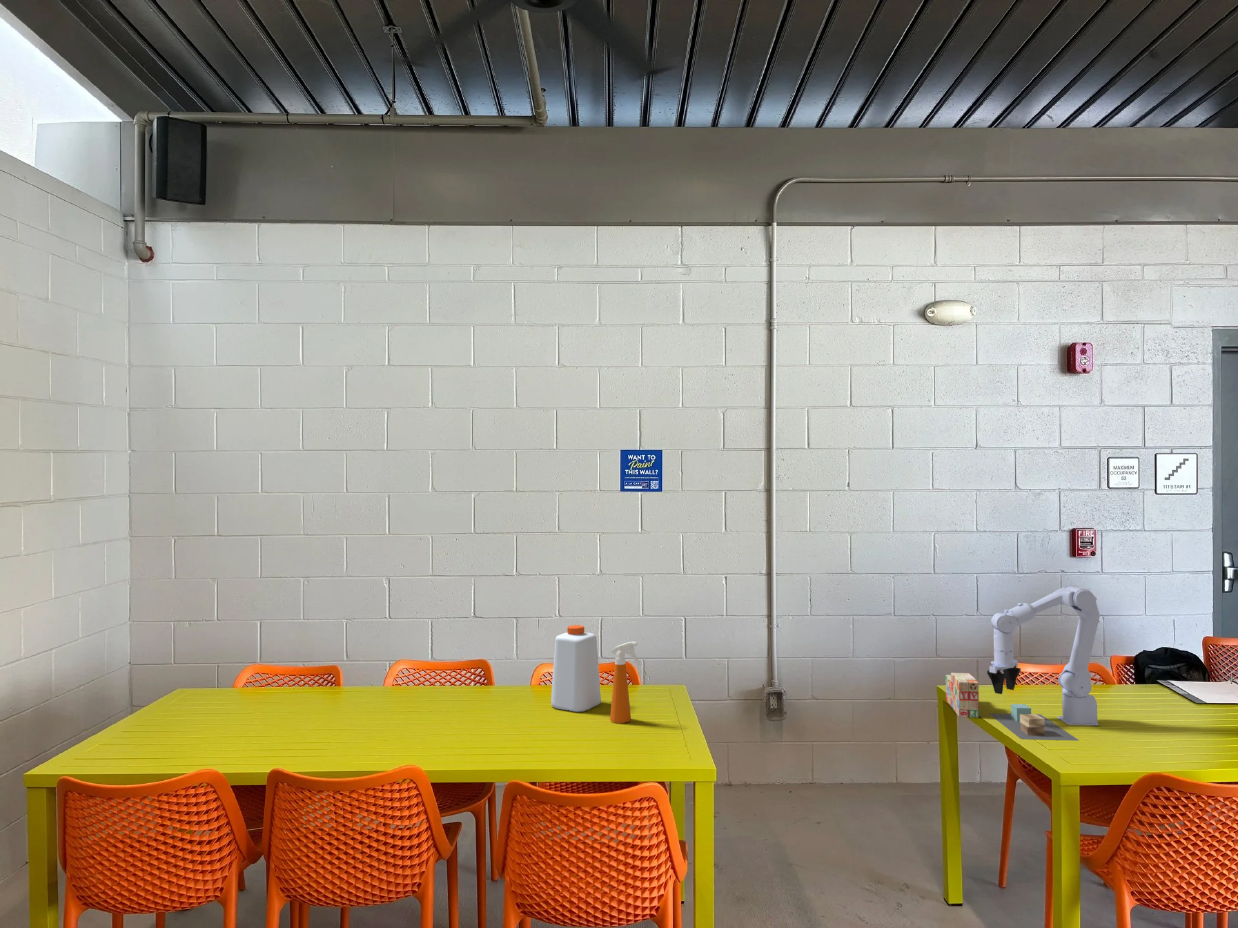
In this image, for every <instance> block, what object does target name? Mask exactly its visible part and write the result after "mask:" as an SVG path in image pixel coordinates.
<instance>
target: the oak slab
mask: <svg viewBox="0 0 1238 928" xmlns="http://www.w3.org/2000/svg"><path fill="white" fill-rule="evenodd" d="M1020 723H1022V724H1024V725H1026V726H1028V727H1045V719H1044V718H1042V717H1040V716H1038V715H1036V714H1035V713H1031V714H1020Z"/></svg>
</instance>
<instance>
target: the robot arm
mask: <svg viewBox="0 0 1238 928" xmlns="http://www.w3.org/2000/svg"><path fill="white" fill-rule="evenodd" d="M1097 600H1098V599H1097V597H1096V596H1095V595H1094V593H1093V592H1091V590H1090V589H1088V588H1087V589H1086V588H1082V587H1079V586H1075V585H1072V584H1071V585H1070V584H1069V585H1066V586H1064V587H1061V588H1058V589H1056V590H1055V591H1054V592H1051V593H1050V594H1047V595H1045V596H1044V597H1042V598H1040V599H1038V600H1036V601H1034V602H1032V603H1030V604H1029V603H1027V602H1024V603H1022V602H1019V603H1017V604H1016V605H1015V606H1014V607H1012V608H1010V609H1004V610H1003V612H997V613H995V614H994V615H993V616H992V617H991V620H989V622H990V626H991V627H992V628H993V658H994V659H993V660H992V661H990V664H991V665H989V667H988V668H989V669H988V670H986V675H987V676H988V678H989V679H990V681H991V683H992V687H993V688H992V689H993V691H994V693H995V694H998V695H1002V694H1003V692H1004V682H1005V688H1006V690H1010V691H1014V690H1015V687H1016V682H1017V679H1018V677H1019V675H1020V673H1021V668H1020V667H1019V661H1018V660H1015V659H1014V638H1013V637H1014V636H1013V632H1014V631H1015V630H1016V627H1019V626H1021V625H1023V624H1026V623H1028V622H1031V621H1032V620H1034V619H1035V618H1036V615H1037V614H1038V613H1040V612H1044V611H1046V610H1049V609H1052V608H1053V607H1057V606H1060V605H1062V606H1070V607H1071V608H1072V609H1073V610H1074V611H1075V612H1076V613H1077V615H1078V616H1079V617H1078V622H1077V627H1076V632H1075V635H1074V640H1073V643H1072V648H1071V654H1070V658H1069V661H1068V663H1066V664H1065V666H1064V668H1063V670H1062V672H1061V673H1060V674H1059V676H1058V681H1057V682H1058V684H1059V686H1060V687H1061V688H1062V690H1061V691H1062V692H1061V696H1062V697H1061V698H1062V699H1061V700H1062V702H1061V703H1062V704H1061V705H1062V715H1057V719H1059V720H1060V721H1062V722H1064V723H1066V724H1067V725H1068V726H1069V725H1070V726H1099V725H1100V724H1099V723H1098V702H1097V699H1096V697H1094V695H1092V694H1090V693H1091V691H1092V683H1091V678H1092V676H1091V673H1090V671H1089V664H1090V661H1091V660H1090V659H1091V656H1092V651H1093V647H1094V643H1095V638H1096V634H1097V630H1098V625H1099V621H1100V616H1101V615H1100V611H1099V608H1098V604H1097ZM1001 671H1002V672H1003V673H1002V672H1001Z"/></svg>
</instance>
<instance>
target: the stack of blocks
mask: <svg viewBox="0 0 1238 928" xmlns="http://www.w3.org/2000/svg"><path fill="white" fill-rule="evenodd" d="M944 679H945V680H944V683H945V701H946V702H947V703H948V705H950V707H951V708H952V710H953V711H954V712H955V713H956V714H957V715H956V716H958V717H959V718H973V719H974V718H977V719H978V718H979V717H980V716H979V713H980V712H979V711H980V709H979V701H980V700H979V699H980V698H979V697H980V696H979V695H980V694H979V693H980V692H979V689H980V685H979V681H977V679H976V678H975V677H974V676H973V675H972V674H970V673H969V672H968V673H967V672H951V673H950V674H945V676H944Z"/></svg>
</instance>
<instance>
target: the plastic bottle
mask: <svg viewBox="0 0 1238 928" xmlns="http://www.w3.org/2000/svg"><path fill="white" fill-rule="evenodd" d="M566 629H567V630H566V632H564V633H561V634H558V635H556V637H555V639H554V651H553V652H554V653H553V666H552V667H553V670H552V682H551V684H552V685H551V697H550V698H551V699H550V703H551V707H553V708H554V709H557V710H563V711H568V710H569V712H574V713H581V712H582V713H583V712H587V711H589V710H590V709H593V708H595V707H597V706H599V705H600V704H601V702H602V697H601V696H602V695H601V685H600V684H601V683H600V682H601V681H600V671H599V670H600V667H599V655H598V654H599V653H598V652H599V651H598V640H597V635H596V634H595V633H592V632H586V631H585V627H584V625H580V624H574V625H572V624H571V625H568V626H567V628H566ZM586 710H587V711H586Z"/></svg>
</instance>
